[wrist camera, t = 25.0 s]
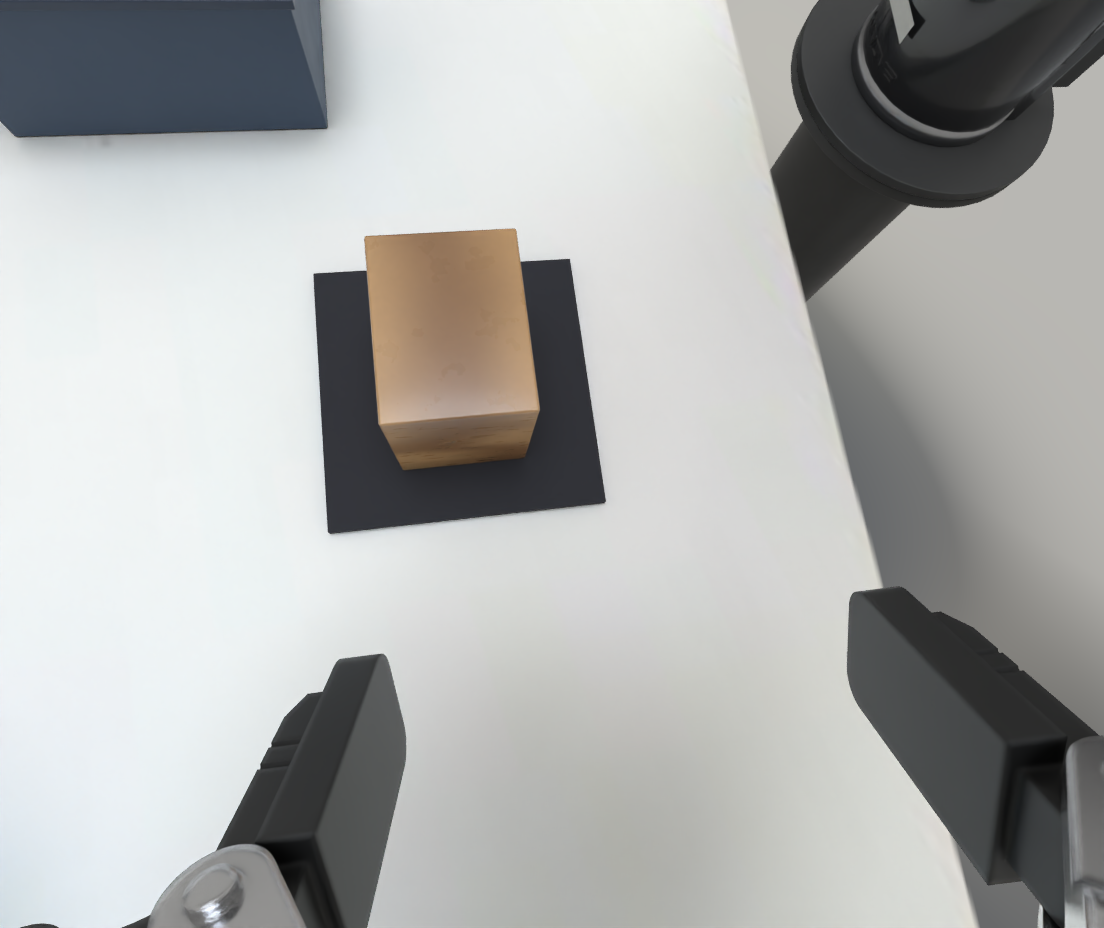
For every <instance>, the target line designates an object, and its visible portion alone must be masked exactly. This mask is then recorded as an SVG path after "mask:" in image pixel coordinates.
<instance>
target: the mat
mask: <svg viewBox="0 0 1104 928" xmlns="http://www.w3.org/2000/svg"><path fill="white" fill-rule="evenodd" d="M521 270H522V277H523V285H524V292H525V300H526V307H527V315H528V323H529V330H530V338H531V345H532V353H533V360H534V368H535V375H536V383H537V391H538V398H539V406H540V411H539V414H538V417H537V420H536V424H535V427H534V430H533V433H532V436H531V440H530V443H529V446H528V449H527V452H526V456H525V458H520V459H510V460H500V461H490V462H481V463H471V464H461V465H451V466H441V467H431V468H422V469H412V470H403V469H402V468H401V466H400V464H399V462H398V460H397V458H396V456H395V454H394V452H393V450H392V449H391V447H390V445H389V443H388V441H387V439H386V437H385V435H384V433H383V432H382V430H381V428H380V426H379V424H378V411H377V398H376V385H375V372H374V359H373V346H372V333H371V320H370V307H369V294H368V281H367V271H352V272H334V273H317V274H314V292H315V310H316V328H317V346H318V363H319V381H320V399H321V417H322V435H323V452H324V470H325V488H326V506H327V523H328V533H330V534H332V533H341V532H350V531H359V530H368V529H377V528H386V527H395V526H403V525H412V524H421V523H430V522H439V521H448V520H457V519H466V518H475V517H484V516H493V515H502V514H511V513H519V512H528V511H537V510H546V509H555V508H564V507H573V506H582V505H591V504H600V503H604V502H605V501H606V500H605V493H604V487H603V480H602V473H601V466H600V460H599V453H598V446H597V439H596V433H595V426H594V419H593V412H592V406H591V399H590V392H589V385H588V379H587V372H586V365H585V358H584V352H583V345H582V338H581V331H580V325H579V318H578V311H577V304H576V298H575V291H574V284H573V278H572V271H571V264H570V259H561V260H543V261H526V262H521Z"/></svg>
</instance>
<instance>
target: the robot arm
mask: <svg viewBox="0 0 1104 928" xmlns="http://www.w3.org/2000/svg"><path fill="white" fill-rule="evenodd" d="M1103 55H1104V0H881V2H880V3H879V5H877V6H876V8H875V9H874V10H873V11H872V12H871V14H870V15H869V16H868V18H867V19H866V21H865V22H864V24H863V26H862V27H861V29H860V30H859V32H858V34H857V35H856V38H855V40H854V43H853V47H852V55H851V62H852V70H853V75H854V78H855V81H856V84H857V86H858V89H859V91H860V93H861V94H862V96H863V98H864V99H865V101H866V102H867V104H868V105H869V106H870V108H871V109H872V110H873V111H874V112H875V113H876V114H877V115H878V116H879V117H880V118H881V119H882V120H883V121H884V122H885V123H887V124H888V125H889V126H890V127H892V128H893V129H895V130H896V131H898V132H900V133H901V134H903V135H905V136H907V137H909V138H911V139H914V140H916V141H919V142H922V143H926V144H930V145H935V146H943V147H955V146H963V145H968V144H971V143H974V142H976V141H979V140H981V139H982V138H984V137H986V136H987V135H989V134H990V133H991V132H992V131H993V130H994V129H995V128H996V127H998V126H999V125H1000V124H1001V123H1002V122H1003V121H1005V120H1015V119H1016V118H1017V117H1018V116H1019V115H1021V114H1022V113H1023V112H1024V111H1025V110H1026V109H1027V108H1028V107H1029V106H1030V105H1032V104H1033V103H1034V102H1035V101H1036V100H1037V99H1038V98H1039V97H1040V96H1041V95H1042V94H1044V93H1045V92H1046V91H1047V90H1048V89H1049V88H1050V87H1067V86H1069V85H1070V84H1071V83H1072V82H1073V81H1075V79H1077V78H1078V77H1079V76H1080V75H1081V74H1082V73H1084V71H1086V70H1087V69H1088V68H1089V67H1090V66H1091V65H1092V64H1094V63H1095V62H1096V61H1097V60H1098V59H1099V58H1100V57H1102V56H1103ZM847 674H848V680H849V684H850V688H851V691H852V694H853V696H854V698H855V700H856V702H857V704H858V706H859V707H860V709H861V710H862V712H863V713H864V714H865V716H866V717H867V718H868V720H869V721H870V723H871V724H872V725H873V727H874V728H875V730H876V731H877V732H878V734H879V735H880V736H881V738H882V739H883V741H884V742H885V743H886V745H887V746H888V748H889V749H890V750H891V752H892V753H893V754H894V756H895V757H896V759H897V760H898V761H899V763H900V764H901V766H902V767H903V768H904V770H905V771H906V773H907V774H908V775H909V777H910V778H911V779H912V781H913V782H914V784H915V785H916V786H917V788H918V789H919V791H920V792H921V793H922V795H923V796H924V797H925V799H926V800H927V802H928V803H929V804H930V806H931V807H932V809H933V810H934V811H935V813H936V814H937V815H938V817H939V818H940V820H941V821H942V822H943V824H944V825H945V827H946V828H947V829H948V831H949V832H950V833H951V835H952V836H953V838H954V839H955V840H956V842H957V843H958V844H959V846H960V847H961V849H962V850H963V851H964V853H965V854H966V856H967V857H968V858H969V860H970V861H971V862H972V864H973V865H974V867H975V868H976V869H977V871H978V872H979V873H980V875H981V876H982V878H983V879H984V881H985V882H986V883H987V885H995V884H1002V883H1011V882H1018V881H1023V882H1024V883H1025V885H1026V886H1027V887H1028V889H1029V890H1030V891H1031V892H1032V893H1033V895H1034V896H1035V897H1036V899H1037V900H1038V901H1039V903H1040V907H1039V914H1038V928H1104V736H1100V735H1098V734H1097V733H1096V732H1095V731H1093V730H1092V729H1091V728H1090V727H1089V726H1087V724H1085V723H1084V722H1083V721H1082V720H1081V719H1079V718H1078V717H1077V716H1076V715H1075V714H1074V713H1073V712H1071V711H1070V710H1069V709H1068V708H1067V707H1065V706H1064V705H1063V704H1062V703H1061V702H1060V701H1058V700H1057V699H1056V698H1055V697H1054V696H1053V695H1051V694H1050V693H1049V692H1048V691H1047V690H1046V689H1044V688H1043V687H1042V686H1041V685H1040V684H1038V683H1037V682H1036V681H1035V680H1034V679H1033V678H1032V677H1030V676H1029V675H1028V674H1027V673H1026V672H1025V671H1019V669H1018V666H1017V665H1016V664H1015V663H1014V662H1013V661H1012V660H1011V659H1009V658H1008V657H1007V656H1006V655H1004V654H1003V653H999V652H998V648H996V647H995V646H994V645H993V644H992V643H991V642H989V641H988V640H987V639H986V638H985V637H984V636H982V635H981V634H980V633H979V632H978V631H977V630H975V629H974V628H973V627H971V626H969V625H967V624H965V623H963V622H961V621H958V620H956V619H954V618H952V617H950V616H948V615H946V614H944V613H942V612H934V613H931V612H930V611H929V610H928V609H927V608H926V607H925V606H924V605H922V604H921V603H920V602H919V601H918V600H917V599H916V598H915V597H913V595H911V594H910V593H909V592H908V591H907V590H906V589H904V588H902V587H899V586H898V587H890V588H882V589H874V590H866V591H859V592H854V593H853V594H852V595H851V598H850V602H849V622H848V651H847ZM271 744H272V746H271V748H268V750H267V752H266V754H265V756H264V758H263V760H262V762H261V764H260V765H261V768H260V770H257V772H256V774H255V776H254V778H253V780H252V781H251V783H250V785H249V787H248V789H247V791H246V793H245V795H244V797H243V799H242V801H241V803H240V805H239V807H238V809H237V811H236V813H235V815H234V817H233V819H232V821H231V823H230V824H229V826H228V828H227V830H226V832H225V834H224V836H223V838H222V840H221V842H220V844H219V846H218V848H217V850H216V851H215V852H213V853H211V854H209V855H207V856H205V857H203V858H201V859H200V860H198V861H197V862H195V863H194V864H192V865H191V866H190V867H188V868H187V869H186V870H185V871H183V872H182V873H181V874H180V875H179V876H178V877H177V878H176V879H175V880H174V881H173V882H172V883H171V884H170V885H169V886H168V887H167V889H166V890H165V891H164V892H163V894H162V895H161V897H160V898H159V900H158V901H157V903H156V905H155V907H154V909H153V910H152V913H151V915H149V916H147V917H145V918H143V919H141V920H139V921H137V922H135V923H132V924H130V925H127V926H125V927H122V928H367V926H368V921H369V917H370V913H371V908H372V904H373V900H374V895H375V891H376V887H377V883H378V878H379V874H380V870H381V865H382V861H383V857H384V853H385V848H386V844H387V840H388V835H389V831H390V827H391V822H392V818H393V814H394V810H395V805H396V801H397V797H398V792H399V788H400V784H401V780H402V775H403V771H404V766H405V760H406V734H405V727H404V722H403V718H402V714H401V710H400V706H399V702H398V698H397V694H396V690H395V686H394V682H393V677H392V673H391V669H390V665H389V662H388V659H387V657H386V656H385V655H384V654H376V655H368V656H360V657H352V658H345V659H339V660H338V661H337V662H336V664H335V666H334V668H333V670H332V672H331V675H330V677H329V679H328V681H327V683H326V686H325V688H324V690H323V692H318V693H311V694H307V695H306V696H305V697H304V698H303V699H302V700H301V701H300V702H299V703H298V704H297V705H296V706H295V707H294V708H293V709H292V710H291V711H290V712H289V713H288V714H287V715H286V716H285V717H284V719H283V721H282V723H281V725H280V727H279V729H278V731H277V733H276V735H275V737H274V738H273V740H272V742H271ZM21 928H58V927H57V926H54V925H51V924H33V925H28V926H24V927H21Z"/></svg>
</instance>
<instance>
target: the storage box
mask: <svg viewBox="0 0 1104 928" xmlns="http://www.w3.org/2000/svg"><path fill="white" fill-rule="evenodd" d="M0 121H1V122H2V123H3V124H4V125H5V126H6V127H7V128H8V129H9V131H10V132H11V133H12V134H13V135H14V136H51V135H87V134H124V133H161V132H198V131H235V130H272V129H309V128H327V111H326V95H325V80H324V64H323V49H322V34H321V18H320V3H319V0H0Z"/></svg>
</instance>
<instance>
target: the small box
mask: <svg viewBox="0 0 1104 928" xmlns="http://www.w3.org/2000/svg"><path fill="white" fill-rule="evenodd" d="M364 242H365V255H366V268H367V281H368V294H369V307H370V320H371V333H372V346H373V359H374V372H375V385H376V398H377V411H378V424H379V426H380V428H381V430H382V432H383V433H384V435H385V437H386V439H387V441H388V443H389V445H390V447H391V449H392V450H393V452H394V454H395V456H396V458H397V460H398V462H399V464H400V466H401V468H402V469H403V470H412V469H422V468H431V467H441V466H451V465H461V464H471V463H481V462H490V461H500V460H510V459H520V458H525V456H526V452H527V449H528V446H529V443H530V440H531V436H532V433H533V430H534V427H535V424H536V420H537V417H538V414H539V411H540V406H539V398H538V391H537V383H536V375H535V368H534V360H533V353H532V345H531V338H530V330H529V323H528V315H527V307H526V300H525V292H524V285H523V277H522V270H521V262H520V255H519V247H518V239H517V232H516V229H495V230H476V231H457V232H437V233H418V234H398V235H379V236H366V237H365V238H364Z"/></svg>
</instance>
